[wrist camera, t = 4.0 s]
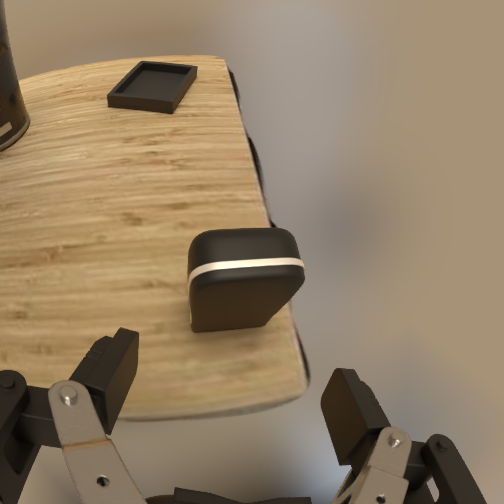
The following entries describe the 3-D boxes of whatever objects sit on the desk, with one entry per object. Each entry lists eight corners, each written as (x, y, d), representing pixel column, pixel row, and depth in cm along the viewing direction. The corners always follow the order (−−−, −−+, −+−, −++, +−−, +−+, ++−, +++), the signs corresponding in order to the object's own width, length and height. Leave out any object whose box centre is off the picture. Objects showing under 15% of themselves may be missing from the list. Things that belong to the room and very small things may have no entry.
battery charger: (260, 287, 28) (302, 216, 18) (268, 326, 26) (318, 273, 16) (185, 292, 26) (184, 219, 16) (189, 334, 24) (189, 282, 14)
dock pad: (108, 107, 37) (106, 95, 35) (141, 70, 43) (141, 60, 41) (172, 114, 38) (173, 101, 36) (196, 76, 44) (197, 66, 42)
